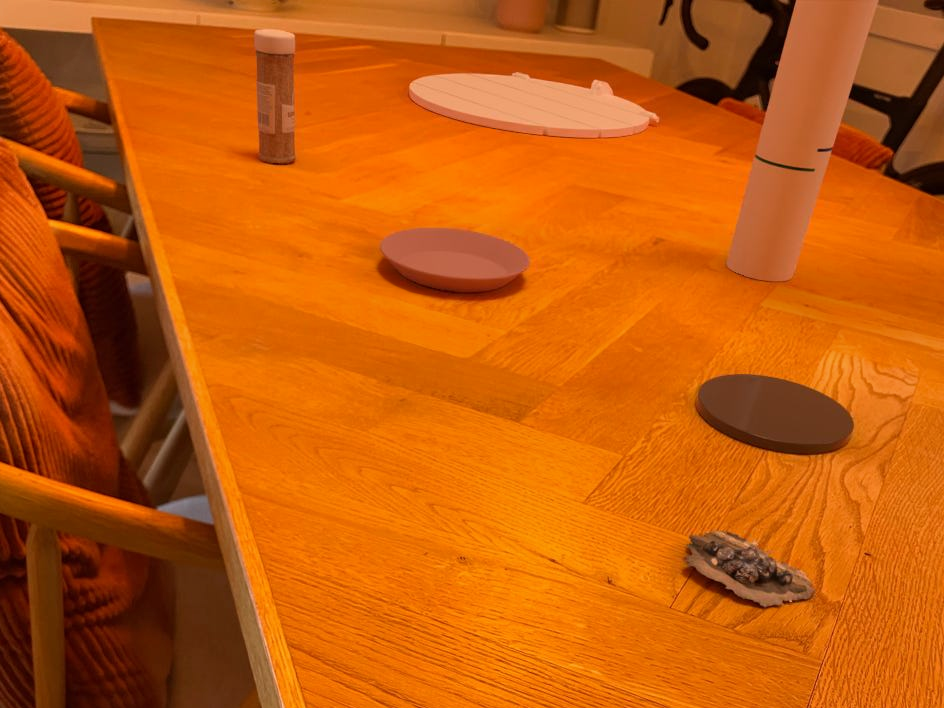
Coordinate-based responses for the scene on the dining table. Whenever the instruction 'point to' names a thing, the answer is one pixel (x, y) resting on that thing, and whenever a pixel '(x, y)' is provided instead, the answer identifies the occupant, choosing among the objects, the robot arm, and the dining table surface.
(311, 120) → the dining table surface
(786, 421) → the coaster
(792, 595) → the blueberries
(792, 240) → the cylindrical container
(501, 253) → the plate
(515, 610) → the dining table surface
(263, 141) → the sprinkles bottle
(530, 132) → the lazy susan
